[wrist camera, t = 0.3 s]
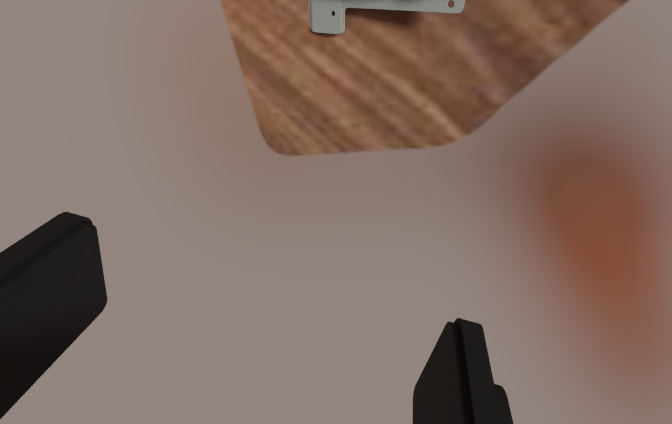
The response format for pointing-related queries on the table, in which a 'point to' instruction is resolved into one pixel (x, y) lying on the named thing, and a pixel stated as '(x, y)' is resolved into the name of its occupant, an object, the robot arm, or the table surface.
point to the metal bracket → (324, 3)
